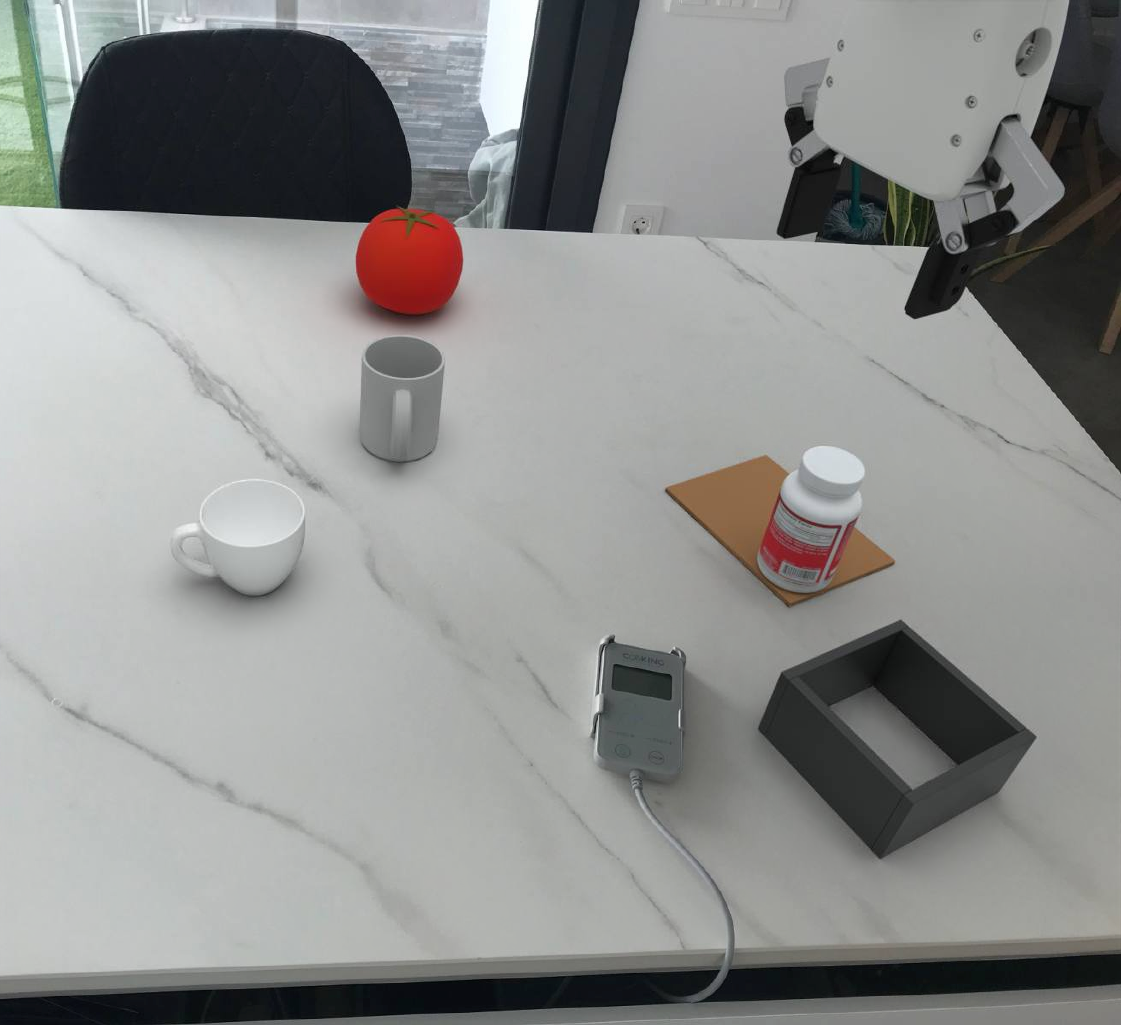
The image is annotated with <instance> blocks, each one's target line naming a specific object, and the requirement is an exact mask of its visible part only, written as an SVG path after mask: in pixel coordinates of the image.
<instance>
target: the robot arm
mask: <svg viewBox="0 0 1121 1025" xmlns="http://www.w3.org/2000/svg"><path fill="white" fill-rule="evenodd" d="M1069 4H1070V0H852V2H851V4H850V7H849V9H848V11H847V13H846V16H845V18H844V21H843V24H842V25H841V28H840V31H839V33H838V36H837V39H836V41H835V44H834V47H833V49H832V52H831V55H830V57H827V58H823V59H818V60H814V61H811V62H806V63H802V64H798V65H795V66H790V67H788V68H787V69H786V70H785V73H784V76H783V79H784V81H783V82H784V94H785V106H786V107H787V110H786V111H785V113H784V118H783V121H784V125H785V128H786V132H787V135H788V138H789V142H790V145H791V147H790V148H789V150H788V153H787V161H788V163H789V164H790V165H791V167H793V168H794V170H793V173H792V177H791V179H790V184H789V187H788V190H787V194H786V196H785V200H784V204H783V208H782V211H781V215H780V218H779V221H778V224H777V228H776V235H777V236H779V237H780V238H782V239H784V240H787V239H792V238H796V237H801V236H806V235H810V234H811V235H812V234H815V233H819V232H821V231H822V230H823V229H824V227H825V224H826V221H827V219H828V216H829V213H830V209H831V206H832V203H833V200H834V197H835V194H836V190H837V188H838V184H839V182H840V178H841V176H842V168H843V165H842V164H840V163H837V162H835V160H836V159H838V158H839V157H841V156H843V157H845V158H847V159H849V160H850V161H853V162H854V163H856V164H857V165H860V166H861V167H864V169H865V168H866V169H867V170H869V171H871V172H873V173H875V174H877V175H879V176H881V177H882V178H884V179H886V180H889V181H891V182H893V183H894V184H896V185H898V186H900V187H903V188H904V189H906V190H908V191H909V192H912V193H914V194H916V195H919V196H920V197H923V198H925V199H927V200H930V201H933V206H934V210H935V214H936V219H937V223H938V227H939V233H940V237H941V241H942V242H940V243H936V244H932V245H930V246H929V247H928V249H927V250H926V252H925V255H924V258H923V260H922V262H921V265H920V267H919V270H918V273H917V275H916V278H915V280H914V282H913V284H912V288H911V290H910V292H909V295H908V298H907V300H906V302H905V304H904V308H903V310H904V313H905V315H907V317H910V318H911V319H913V320H919V319H921V318H926V317H928V316H932V315H935V314H940V313H944V312H946V311H949V310H950V309H951V308H953V306H955V305H956V304H957V303H958V302H959V301H960V299H961V298H962V296H963V294H964V292H965V290H966V288H967V286H968V283H969V281H970V278H971V276H972V274H973V271H974V269H975V267H976V265H977V262H978V260H979V258H980V255H981V253H982V250H983V248H985V247H990V246H994V245H995V244H996V243H997V242H1001V241H1002V240H1003V241H1004V240H1005V239H1007V238H1010V237H1013V236H1015V235H1017V234H1020V233H1023V232H1025V231H1027V230H1028V229H1029V228H1030V226H1031V224H1032V223H1033V222H1034V221H1037V220H1038V219H1039V218H1040V217H1042V216H1043V215H1044V214H1045V213H1047V211H1049V210H1050V209H1051V208H1053V207H1054V205H1056V204H1057V203H1058V202H1060V201H1061V199H1062V198H1063V197H1064V195H1065V190H1066V189H1065V186H1064V183H1063V182H1062V180H1061V179H1060V178H1059V176H1058V175H1057V173H1056V172H1055V170H1054V169H1053V167H1052V166H1051V165H1050V163H1049V161H1047V159H1046V158H1045V156H1044V155H1043V153H1042V152H1041V151H1040V149H1039V148H1038V147H1037V144H1035V142H1034V140H1033V139H1032V138H1031V137H1032V134H1033V132H1034V128H1035V126H1036V123H1037V120H1038V118H1039V115H1040V112H1041V109H1042V106H1043V103H1044V101H1045V97H1046V95H1047V91H1048V89H1049V84H1050V83H1051V78H1052V75H1053V71H1054V68H1055V65H1056V62H1057V58H1058V55H1059V50H1060V46H1061V43H1062V39H1063V34H1064V30H1065V26H1066V21H1067V16H1068V11H1069V10H1068V9H1069ZM1010 184H1011V185H1012V187H1013V195H1012V197H1011V198H1010V199H1009V200H1008V201H1007V202H1006V203H1005V205H1004V206H1002V207H1001V208H1000V209H999V210H997V207H996V203H995V199H994V195H993V192H995V191H1000V190H1004V189H1006V188H1007V187H1008V186H1009V185H1010ZM964 204H965V205H964Z"/></svg>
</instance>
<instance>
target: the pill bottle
mask: <svg viewBox="0 0 1121 1025" xmlns="http://www.w3.org/2000/svg"><path fill="white" fill-rule="evenodd" d="M797 468H798V469H796V470H794V471H791V472H790V473H789V475H788V476H787V477H786V478H785V480H784V481H783V484H782V486H781V489H780V492H779V494H778V497H777V500H776V503H775V506H774V509H773V511H772V514H771V517H770V520H769V523H768V526H767V528H766V531H765V534H764V537H763V540H762V543H761V546H760V549H759V552H758V556H757V562H758V566H759V568H760V570H761V572H762V573H763V575H764V576H765V577H766V578H767V579H768V580H769V581H771V582H772V583H773V584H775V585H777V586H778V587H780V588H782V589H785V590H788V591H792V592H798V593H812V592H816V591H819V590H821V589H823V588H825V587H826V586H827V585H828V584H829V583H830V582H831V580H832V578H833V576H834V574H835V571H836V569H837V567H838V564H839V562H840V559H841V557H842V554H843V552H844V550H845V547H846V545H847V543H848V540H849V538H850V535H851V533H852V531H853V529H854V527H855V526H856V524H857V521H858V519H859V517H860V515H861V511H862V507H863V498H862V494H861V492H860V488H861V486H862V484H863V480H864V478H865V476H866V468H865V466H864V464H863V462H862V461H861V460H860V458H858V457H857V456H855V455H854V454H853V453H851V452H849V451H847V450H845V449H842V448H839V447H835V446H829V445H818V446H814V447H810V448H809V449H807V450H806V451H805V452H804V453H803V454H802V458H801V461H800V464H799V466H798V467H797Z"/></svg>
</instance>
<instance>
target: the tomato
mask: <svg viewBox="0 0 1121 1025" xmlns="http://www.w3.org/2000/svg"><path fill="white" fill-rule="evenodd" d="M396 207H397V208H394V209H389V210H388V209H387V210H385V211H383V212H381V213H379V214H377V215H376V216H375V217H374V218H372V220H371V221H370V222H369V223H368V224H367V225H366V226H365V228H364V230H363V231H362V234H361V236H360V238H359V241H358V244H357V247H356V253H355V272H356V276H357V280H358V282H359V285H360V287H361V290H362V291H363V293H364V294H365V296H366V297H367V298H368V299H369V300H371V301H372V302H373V303H374V304H376V305H377V306H380V307H382V308H384V309H387V310H390V311H393V312H396V313H399V314H406V315H422V314H427V313H428V314H429V313H431V312H434V311H436V310H438V309H440V308H442V307H444V306H445V304H447V303H448V302H449V301H450V299H451V298H452V297H453V295H454V294H455V292H456V290H457V287H458V285H459V283H460V279H461V276H462V272H463V270H464V252H463V245H462V241H461V238H460V236H459V234H458V232H457V230H456V228H455V226H454V225H453V224H452V223H451V222H450V221H448V220H447V218H446V217H444V216H442V215H440V214H437V213H435V212H437V210H432V211H426V210H420V209H411V208H403V207H400V206H398V205H396Z"/></svg>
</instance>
